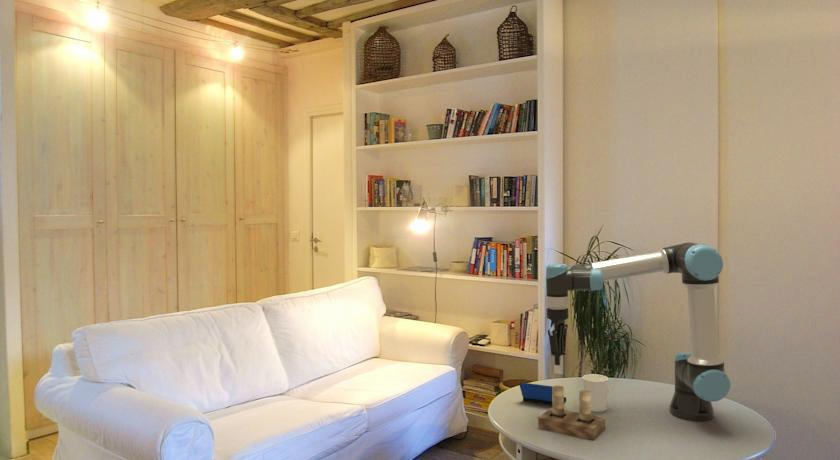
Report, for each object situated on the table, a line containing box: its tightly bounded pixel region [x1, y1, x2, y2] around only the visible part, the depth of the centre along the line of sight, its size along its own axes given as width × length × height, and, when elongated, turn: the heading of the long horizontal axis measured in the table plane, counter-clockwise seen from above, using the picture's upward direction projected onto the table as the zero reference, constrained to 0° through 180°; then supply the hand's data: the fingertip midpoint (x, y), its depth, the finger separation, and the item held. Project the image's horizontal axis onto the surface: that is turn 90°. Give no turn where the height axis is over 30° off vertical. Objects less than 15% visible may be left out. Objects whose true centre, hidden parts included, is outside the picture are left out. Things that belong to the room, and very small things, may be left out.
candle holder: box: [581, 373, 610, 413], centre depth 233 cm, size 10×10×12 cm
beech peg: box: [551, 385, 565, 418], centre depth 216 cm, size 4×4×14 cm
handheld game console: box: [519, 382, 567, 406], centre depth 241 cm, size 16×13×9 cm
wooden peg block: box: [537, 389, 606, 441], centre depth 213 cm, size 20×12×14 cm, turn 55°
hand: (558, 373), depth 215 cm, fingers closed
